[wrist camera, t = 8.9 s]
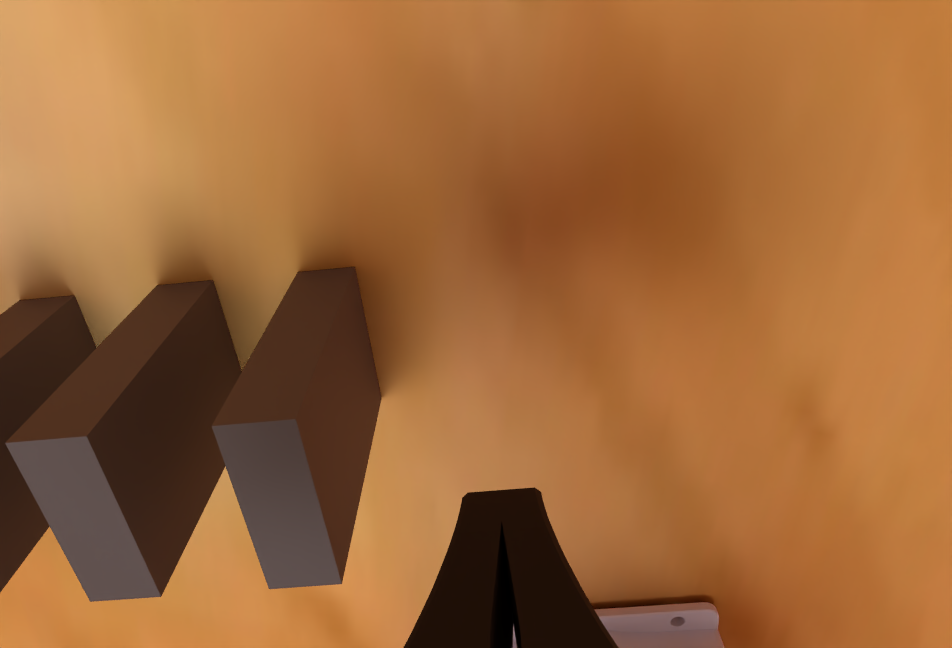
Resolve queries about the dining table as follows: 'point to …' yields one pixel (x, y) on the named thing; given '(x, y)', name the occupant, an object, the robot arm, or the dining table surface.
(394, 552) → the dining table surface
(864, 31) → the dining table surface
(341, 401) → the tile
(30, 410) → the tile
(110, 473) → the tile
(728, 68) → the dining table surface
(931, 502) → the dining table surface
